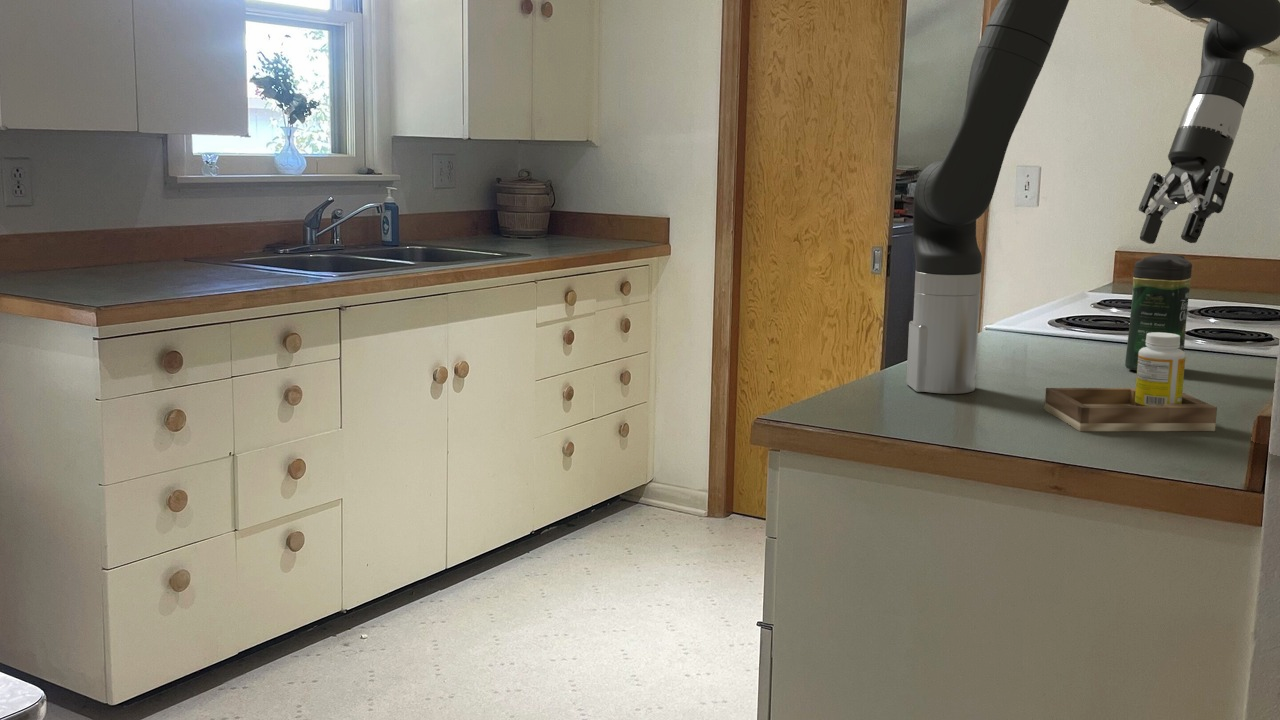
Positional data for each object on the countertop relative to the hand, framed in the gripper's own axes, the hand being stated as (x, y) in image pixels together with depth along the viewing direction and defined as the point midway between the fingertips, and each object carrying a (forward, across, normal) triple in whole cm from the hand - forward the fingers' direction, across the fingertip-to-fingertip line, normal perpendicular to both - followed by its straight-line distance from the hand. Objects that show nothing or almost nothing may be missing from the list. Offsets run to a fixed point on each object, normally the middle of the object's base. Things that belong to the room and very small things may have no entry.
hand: (1166, 241), depth 160 cm
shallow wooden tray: (+27, +12, -5) cm, 30 cm away
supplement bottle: (+25, +12, -2) cm, 28 cm away
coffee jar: (+15, -17, +19) cm, 29 cm away
